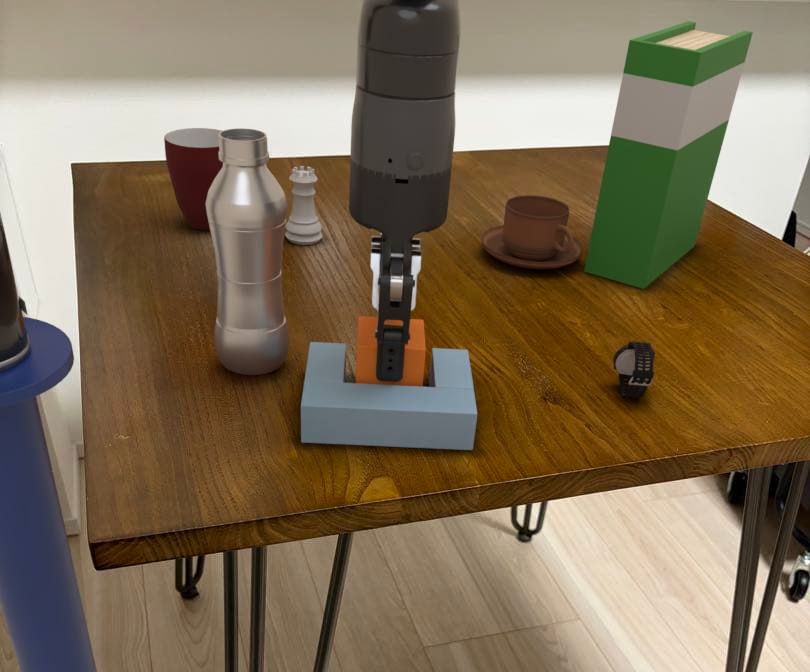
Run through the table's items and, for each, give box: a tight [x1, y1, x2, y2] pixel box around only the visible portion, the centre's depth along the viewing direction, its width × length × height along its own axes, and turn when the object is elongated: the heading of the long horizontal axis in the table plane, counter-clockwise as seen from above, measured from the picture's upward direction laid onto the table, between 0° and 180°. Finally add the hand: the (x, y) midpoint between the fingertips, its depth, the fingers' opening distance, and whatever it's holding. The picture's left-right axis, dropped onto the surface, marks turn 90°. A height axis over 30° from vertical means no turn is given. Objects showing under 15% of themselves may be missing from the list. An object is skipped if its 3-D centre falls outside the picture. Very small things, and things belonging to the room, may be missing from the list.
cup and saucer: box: [481, 194, 584, 270], centre depth 105 cm, size 12×12×6 cm
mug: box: [163, 127, 223, 231], centre depth 106 cm, size 11×8×10 cm
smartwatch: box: [612, 341, 656, 399], centre depth 81 cm, size 4×5×5 cm
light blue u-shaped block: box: [300, 341, 478, 451], centre depth 76 cm, size 14×11×4 cm
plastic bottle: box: [206, 127, 290, 376], centre depth 76 cm, size 6×7×20 cm
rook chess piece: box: [284, 165, 323, 246], centre depth 104 cm, size 4×4×8 cm
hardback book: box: [583, 21, 754, 290], centre depth 102 cm, size 18×7×24 cm, turn 147°
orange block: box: [355, 315, 427, 387], centre depth 76 cm, size 6×6×4 cm
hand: (389, 360), depth 76 cm, fingers closed on orange block, 5 cm apart
